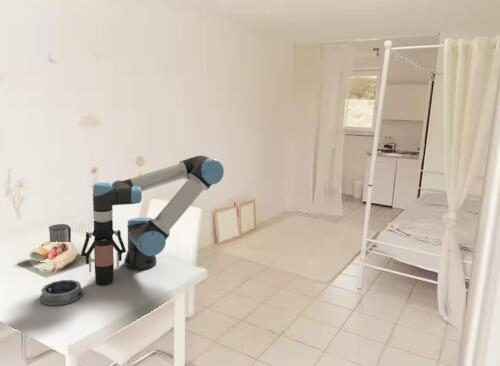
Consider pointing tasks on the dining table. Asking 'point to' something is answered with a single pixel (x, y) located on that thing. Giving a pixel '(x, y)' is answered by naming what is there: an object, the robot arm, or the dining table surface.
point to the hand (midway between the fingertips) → (104, 269)
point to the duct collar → (61, 293)
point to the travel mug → (103, 262)
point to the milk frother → (60, 233)
